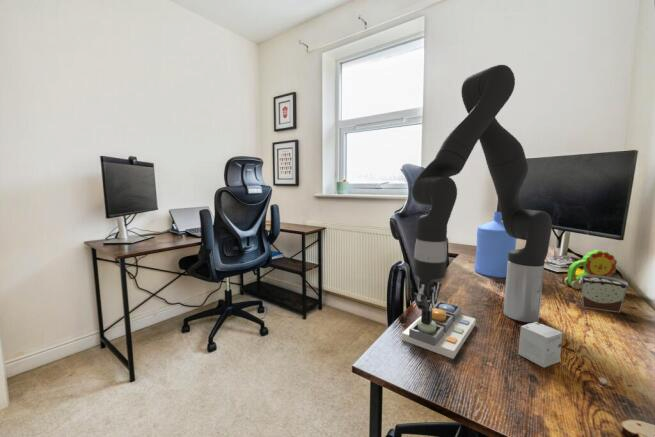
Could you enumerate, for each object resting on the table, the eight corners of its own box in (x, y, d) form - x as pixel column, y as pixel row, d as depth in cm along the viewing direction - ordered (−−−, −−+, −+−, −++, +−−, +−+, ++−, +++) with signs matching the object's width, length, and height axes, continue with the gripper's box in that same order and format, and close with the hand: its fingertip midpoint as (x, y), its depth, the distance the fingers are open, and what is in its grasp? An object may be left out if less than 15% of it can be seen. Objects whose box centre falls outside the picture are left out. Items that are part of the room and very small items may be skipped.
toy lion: (572, 289, 112) (577, 251, 110) (563, 284, 118) (567, 248, 116) (617, 291, 111) (622, 252, 109) (605, 286, 116) (610, 249, 114)
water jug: (521, 278, 125) (527, 214, 121) (485, 278, 125) (489, 214, 122) (500, 267, 140) (505, 210, 137) (468, 267, 141) (471, 210, 137)
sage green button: (438, 329, 75) (438, 322, 75) (432, 336, 72) (432, 329, 71) (421, 324, 78) (422, 317, 78) (415, 330, 74) (415, 323, 74)
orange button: (448, 318, 81) (448, 311, 81) (442, 324, 78) (443, 317, 77) (432, 313, 84) (432, 307, 84) (426, 319, 81) (427, 312, 80)
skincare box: (544, 368, 65) (547, 338, 64) (517, 354, 71) (520, 325, 70) (560, 362, 68) (563, 332, 67) (533, 348, 73) (535, 320, 72)
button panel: (475, 324, 85) (476, 310, 85) (452, 360, 68) (453, 343, 67) (431, 311, 93) (432, 299, 93) (400, 341, 76) (401, 326, 76)
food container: (616, 305, 98) (620, 277, 97) (626, 313, 92) (630, 283, 91) (570, 299, 103) (574, 272, 102) (577, 306, 97) (580, 277, 96)
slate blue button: (456, 313, 87) (456, 306, 87) (451, 318, 84) (452, 311, 84) (441, 308, 90) (441, 302, 90) (436, 313, 87) (436, 307, 87)
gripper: (435, 265, 65) (431, 338, 67) (453, 254, 75) (449, 318, 77) (404, 259, 69) (401, 328, 72) (425, 250, 80) (422, 310, 82)
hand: (426, 322), depth 74 cm, fingers closed
